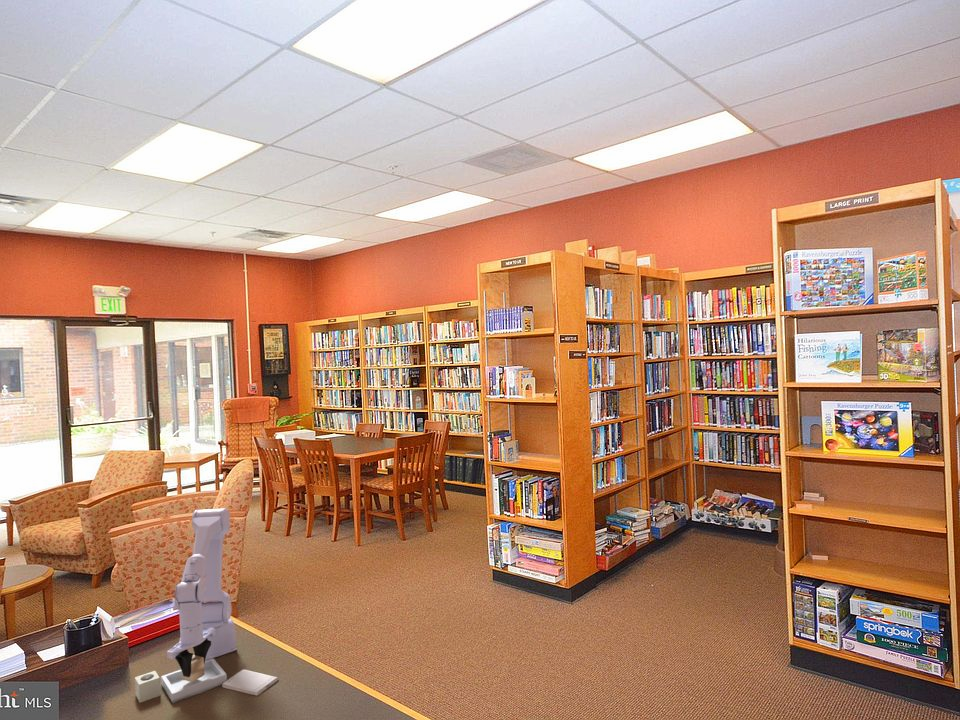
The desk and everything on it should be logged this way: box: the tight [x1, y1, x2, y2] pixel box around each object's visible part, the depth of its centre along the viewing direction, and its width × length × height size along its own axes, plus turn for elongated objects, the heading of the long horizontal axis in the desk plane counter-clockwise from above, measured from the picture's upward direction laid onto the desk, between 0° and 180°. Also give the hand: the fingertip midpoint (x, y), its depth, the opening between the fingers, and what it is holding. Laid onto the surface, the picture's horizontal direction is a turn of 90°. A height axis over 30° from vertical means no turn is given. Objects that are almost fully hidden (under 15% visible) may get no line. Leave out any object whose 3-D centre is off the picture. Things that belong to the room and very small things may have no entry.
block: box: [182, 654, 204, 682], centre depth 171 cm, size 4×4×5 cm
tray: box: [160, 658, 228, 704], centre depth 171 cm, size 14×12×2 cm
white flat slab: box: [221, 668, 279, 696], centre depth 170 cm, size 2×8×12 cm
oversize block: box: [134, 670, 161, 704], centre depth 166 cm, size 5×5×5 cm
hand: (193, 671), depth 171 cm, fingers closed on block, 4 cm apart
